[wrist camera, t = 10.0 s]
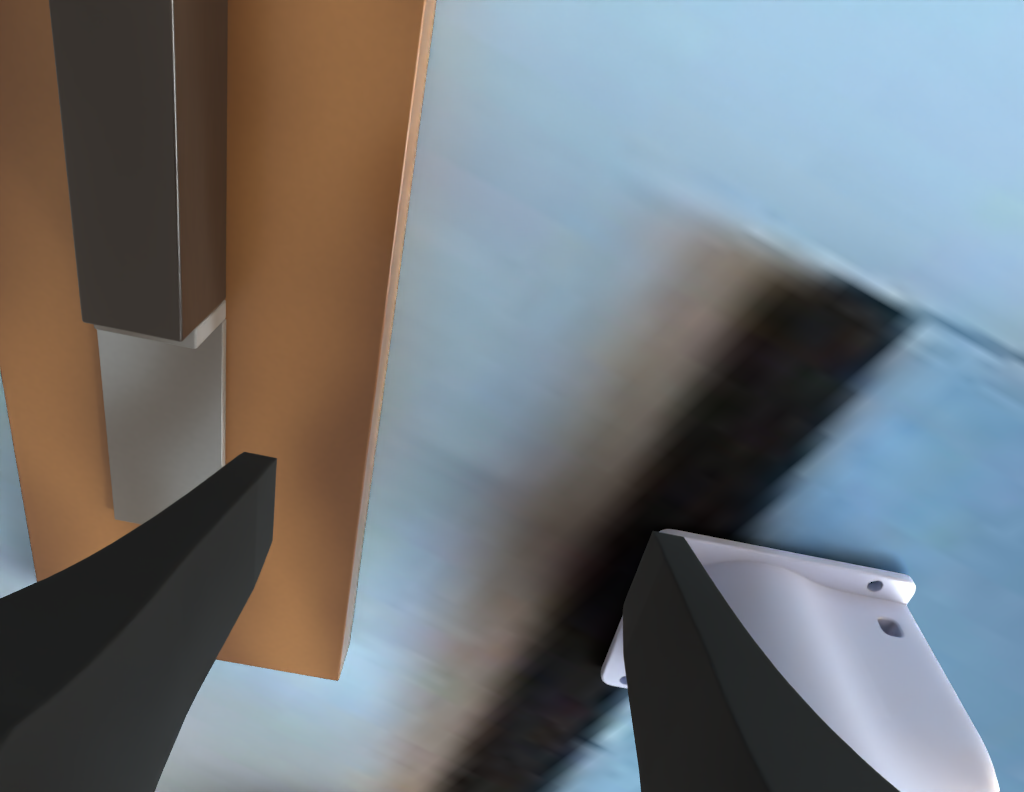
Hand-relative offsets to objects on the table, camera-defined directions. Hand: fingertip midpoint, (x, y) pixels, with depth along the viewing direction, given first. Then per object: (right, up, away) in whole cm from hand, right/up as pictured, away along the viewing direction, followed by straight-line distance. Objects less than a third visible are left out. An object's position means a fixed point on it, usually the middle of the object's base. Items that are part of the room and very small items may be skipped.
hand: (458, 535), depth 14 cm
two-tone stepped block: (-9, +5, +6) cm, 12 cm away
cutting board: (-8, +5, +9) cm, 13 cm away
